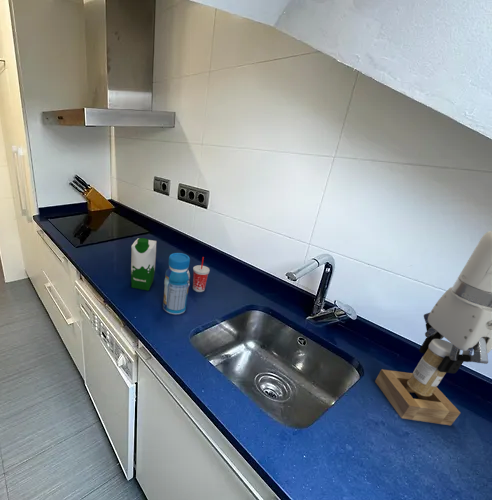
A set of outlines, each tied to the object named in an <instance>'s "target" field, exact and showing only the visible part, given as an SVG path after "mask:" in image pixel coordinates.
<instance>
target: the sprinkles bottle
mask: <svg viewBox="0 0 492 500" xmlns="http://www.w3.org/2000/svg"><path fill="white" fill-rule="evenodd" d="M452 346H453V344H452V343H451V342H449V341H448V340H445V339H443V338H442V339H433V340H432V341H431V342H430V344H429V348H428V350H427V351H426V353H425V354H424V353H423V355H422V357H421V359H420V360H419V362H418V363H417V365H416V367H415V368H414V370H413V372H412V373H413V374H412V376H411V377H410V379H409V380H408V381H407V385H408V386H409V387H410V389H412V390H413V391H414V392H416V393H417V394H420V395H422V396H431V395H432V394H433V391H434V390H435V388H436V387H437V388H438V386H439V384H440V383H441V382H442V380H443V378H444V377H445V375H446V374H447V373H445V372H440V371H439V370H438V366H439V365H440V363H441V362H442V360H443V359H444V357H445V356H449V355H450V352H451V349H452ZM459 354H462V353H461V351H460V353H459Z"/></svg>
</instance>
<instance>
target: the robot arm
mask: <svg viewBox="0 0 492 500" xmlns="http://www.w3.org/2000/svg"><path fill="white" fill-rule="evenodd" d="M423 319H424V322H425V329H426V331H425V332H424V336H425V339H424V340H423V343H422V344H421V345H420V348H419V349H418V351H419V353H420V354H423V355H424V354H425V353H426V351H427V350H428V348H429V344H430V342H431V341H432V340H433V339H442V340H443V339H444V338H445V339H446V341H448V342H450V343H452V344H453V346H452V349H451V352H450V355H449V356H445V357H444V359H443V360H442V362H441V363H440V365H439V366H438V370H439V371H440V372H445V373H446V374H456V373H457V372H458V371H459V369H460V368H461V367H462V365H463V364H464V363H477V364H484V365H487V364H488V363H489V357H488V354H489V353H490V352H491V351H492V230H489V231H486V232H485V233H484V234H483V235H482V236H481V238H480V239H479V242H478V243H477V244H476V247H475V248H474V250H473V251H472V253H471V255H470V256H469V258H468V260H467V262H466V263H465V264H464V266H463V268H462V270H461V271H460V273H459V275H458V277H457V278H456V280H455V282H454V284H453V285H452V286H451V287H449V288H448V289H447V290H446V291H445V292H444V293H443V294H442V295H441V296H440V297H439V299H438V300H437V301H436V302H435V304H434V306H433V308H432V309H431V311H430V312H427V313H424V314H423ZM461 351H462V353H460V352H461ZM459 353H460V354H459Z"/></svg>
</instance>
